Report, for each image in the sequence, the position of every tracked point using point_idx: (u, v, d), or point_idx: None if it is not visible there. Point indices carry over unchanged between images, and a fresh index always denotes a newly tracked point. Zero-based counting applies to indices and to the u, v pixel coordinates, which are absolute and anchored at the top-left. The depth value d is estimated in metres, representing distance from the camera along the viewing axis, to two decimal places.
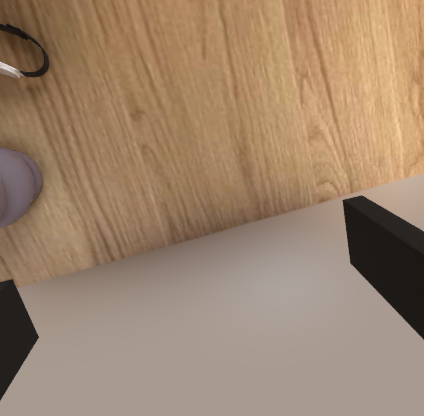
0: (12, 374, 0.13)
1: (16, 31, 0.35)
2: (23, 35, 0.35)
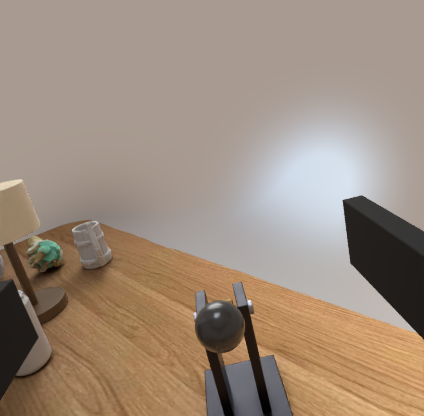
0: (12, 374, 0.13)
1: None
2: None
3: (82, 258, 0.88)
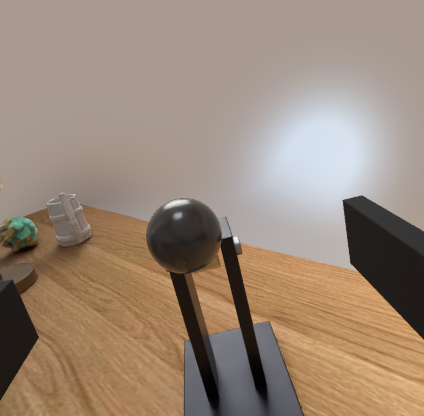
0: (12, 374, 0.13)
1: None
2: None
3: (58, 234, 0.79)
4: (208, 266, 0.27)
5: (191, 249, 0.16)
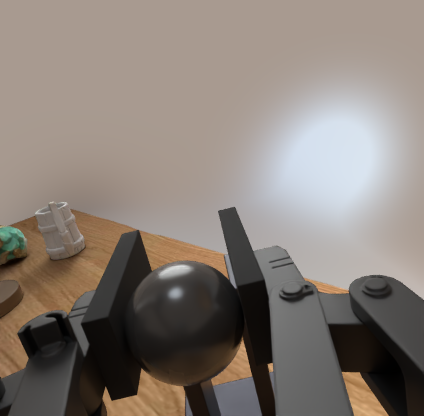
0: None
1: None
2: None
3: (48, 246, 0.73)
4: None
5: (197, 358, 0.09)
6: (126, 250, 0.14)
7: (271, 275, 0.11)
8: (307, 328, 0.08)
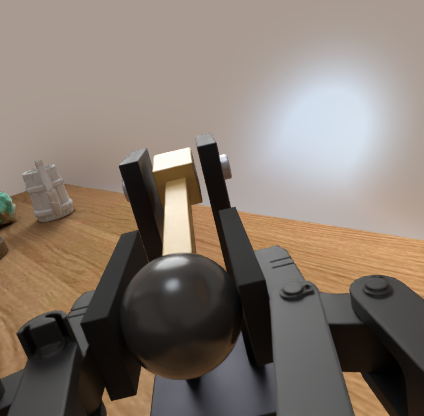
0: None
1: None
2: None
3: (35, 208, 0.71)
4: None
5: (203, 373, 0.10)
6: (126, 250, 0.14)
7: (272, 275, 0.11)
8: (308, 329, 0.08)
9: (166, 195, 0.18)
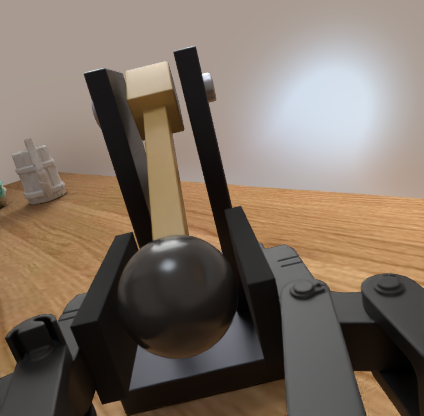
0: None
1: None
2: None
3: (26, 190, 0.69)
4: None
5: None
6: (119, 252, 0.14)
7: (280, 273, 0.11)
8: (319, 327, 0.08)
9: (146, 132, 0.16)
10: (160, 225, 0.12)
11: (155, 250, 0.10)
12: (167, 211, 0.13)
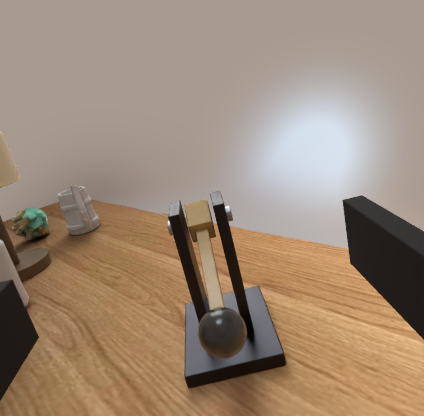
0: (12, 374, 0.13)
1: None
2: None
3: (68, 224, 0.85)
4: None
5: None
6: None
7: None
8: None
9: (199, 246, 0.32)
10: (212, 300, 0.28)
11: (214, 316, 0.26)
12: (214, 293, 0.28)
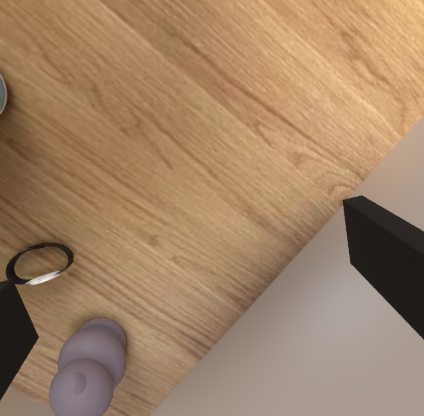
0: (12, 374, 0.13)
1: (36, 248, 0.42)
2: (42, 246, 0.43)
3: None
4: None
5: None
6: None
7: None
8: None
9: None
10: None
11: None
12: None
